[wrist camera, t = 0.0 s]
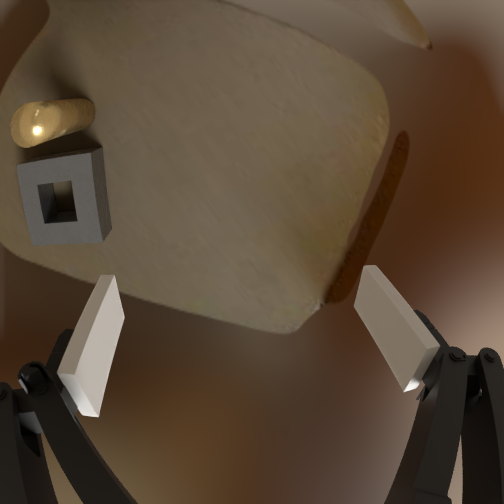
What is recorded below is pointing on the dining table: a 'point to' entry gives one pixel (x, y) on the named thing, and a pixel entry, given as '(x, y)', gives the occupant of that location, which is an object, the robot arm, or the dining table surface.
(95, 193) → the block
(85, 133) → the dining table surface
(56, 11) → the dining table surface
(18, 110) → the brass cylinder rod
